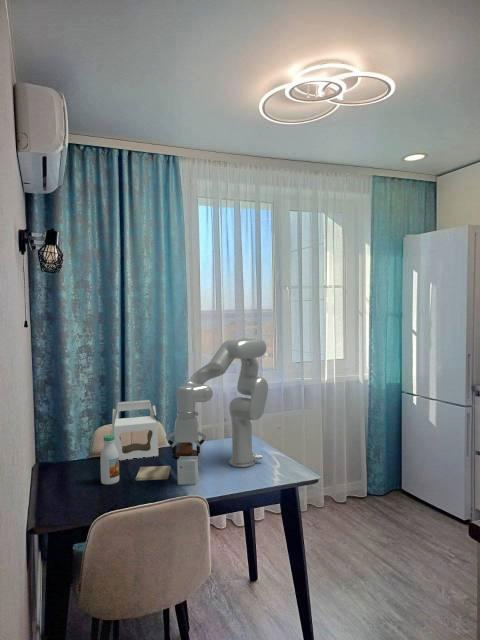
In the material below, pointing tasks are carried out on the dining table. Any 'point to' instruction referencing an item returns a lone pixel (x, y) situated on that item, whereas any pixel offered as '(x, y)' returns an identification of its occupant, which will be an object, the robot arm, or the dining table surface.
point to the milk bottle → (109, 461)
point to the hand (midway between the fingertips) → (186, 455)
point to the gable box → (135, 425)
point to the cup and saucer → (185, 450)
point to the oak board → (153, 473)
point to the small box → (187, 470)
